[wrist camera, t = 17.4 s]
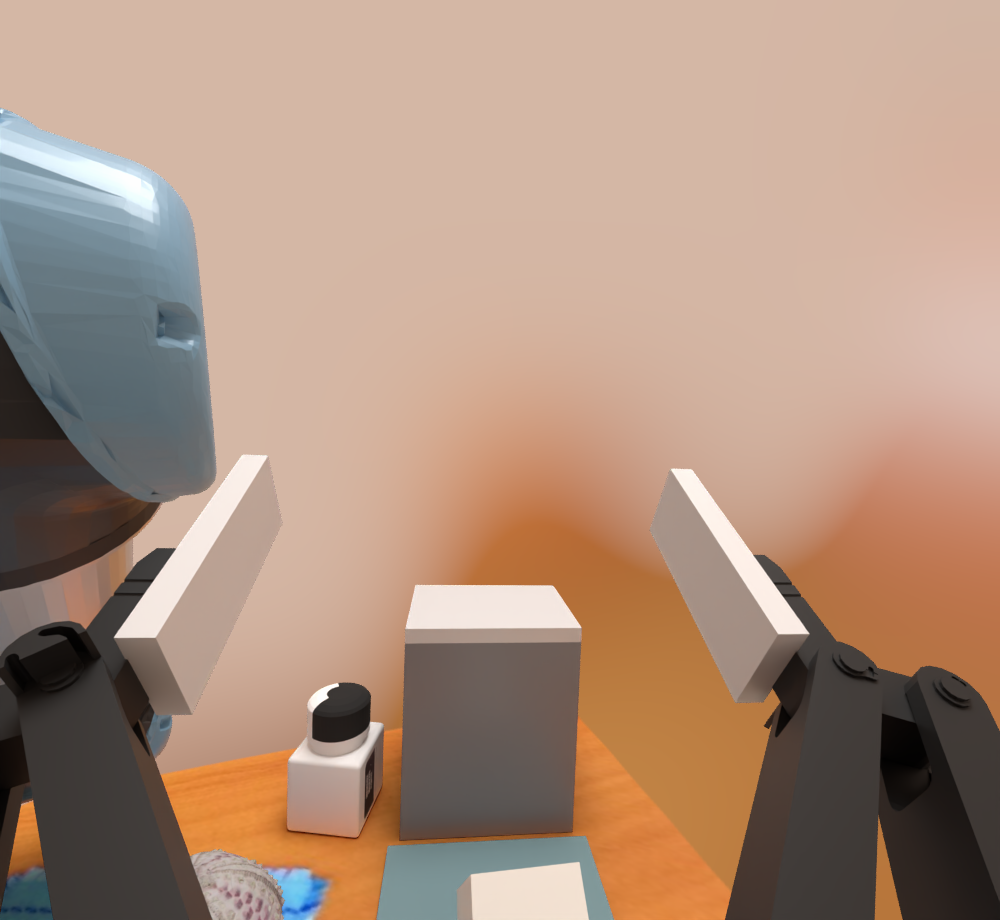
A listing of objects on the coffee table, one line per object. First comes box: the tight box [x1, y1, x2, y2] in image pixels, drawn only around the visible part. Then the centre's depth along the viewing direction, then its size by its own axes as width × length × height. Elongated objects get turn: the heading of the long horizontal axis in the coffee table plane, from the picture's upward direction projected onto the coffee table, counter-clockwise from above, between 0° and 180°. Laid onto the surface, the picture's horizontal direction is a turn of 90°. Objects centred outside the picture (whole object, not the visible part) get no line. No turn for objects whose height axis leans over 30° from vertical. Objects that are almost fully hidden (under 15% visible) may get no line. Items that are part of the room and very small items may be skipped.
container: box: [287, 683, 384, 838], centre depth 53 cm, size 8×8×13 cm
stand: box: [400, 585, 582, 840], centre depth 56 cm, size 14×18×22 cm
